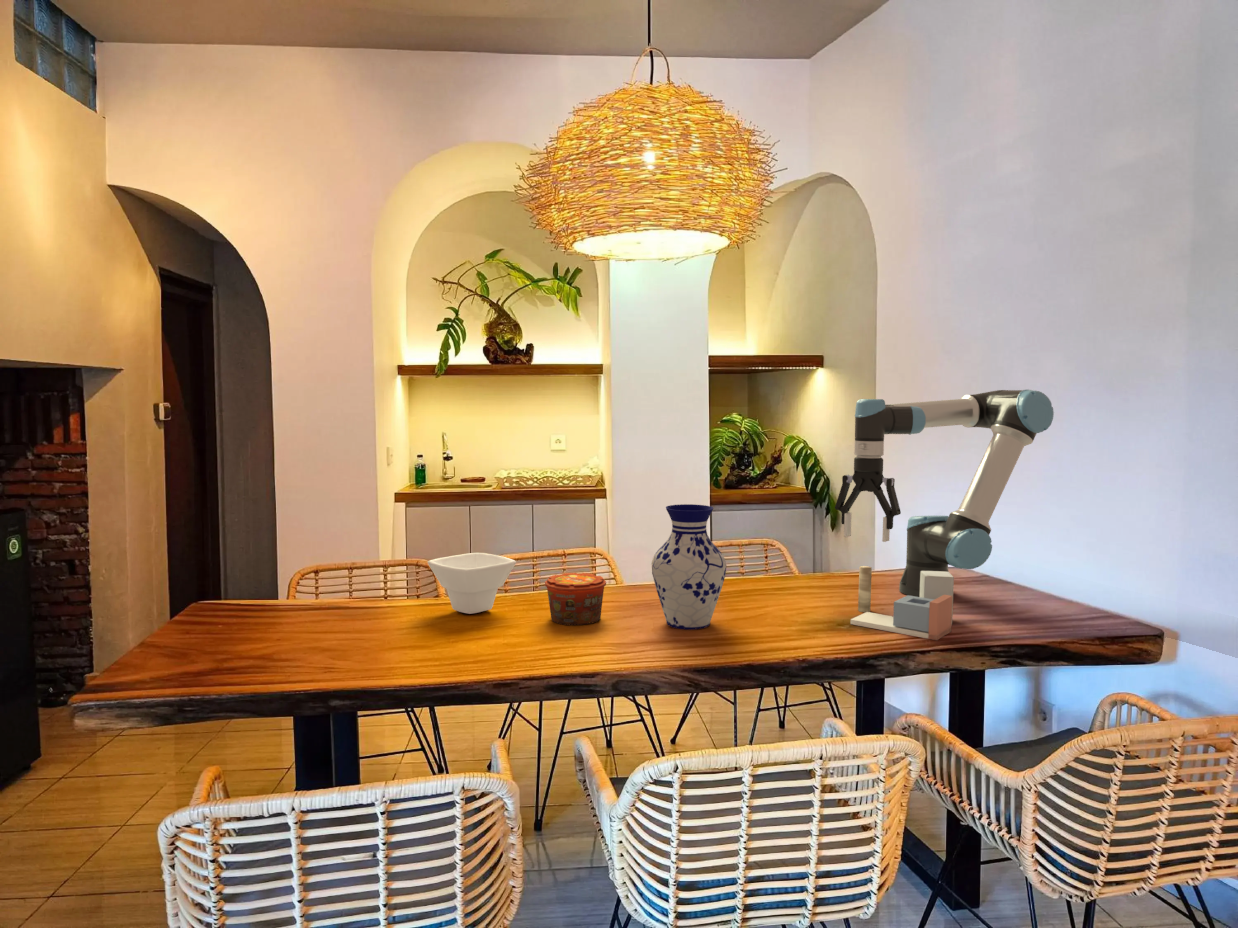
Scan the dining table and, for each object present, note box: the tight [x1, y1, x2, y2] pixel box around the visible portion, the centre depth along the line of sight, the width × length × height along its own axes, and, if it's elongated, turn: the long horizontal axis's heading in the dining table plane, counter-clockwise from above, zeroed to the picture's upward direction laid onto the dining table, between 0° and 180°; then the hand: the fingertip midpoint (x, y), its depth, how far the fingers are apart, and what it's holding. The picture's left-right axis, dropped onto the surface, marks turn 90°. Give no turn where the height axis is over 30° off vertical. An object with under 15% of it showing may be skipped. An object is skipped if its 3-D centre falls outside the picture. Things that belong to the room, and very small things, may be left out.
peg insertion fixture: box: [850, 595, 953, 641], centre depth 216 cm, size 10×22×9 cm, turn 50°
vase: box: [651, 503, 727, 630], centre depth 218 cm, size 19×19×30 cm
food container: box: [544, 572, 607, 626], centre depth 223 cm, size 16×16×11 cm
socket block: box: [893, 594, 934, 632], centre depth 213 cm, size 9×9×6 cm
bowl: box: [427, 552, 517, 615], centre depth 230 cm, size 19×19×14 cm
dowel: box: [857, 565, 873, 613], centre depth 233 cm, size 3×3×12 cm
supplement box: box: [920, 571, 955, 626], centre depth 223 cm, size 7×7×13 cm
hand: (866, 538), depth 232 cm, fingers open, 10 cm apart
